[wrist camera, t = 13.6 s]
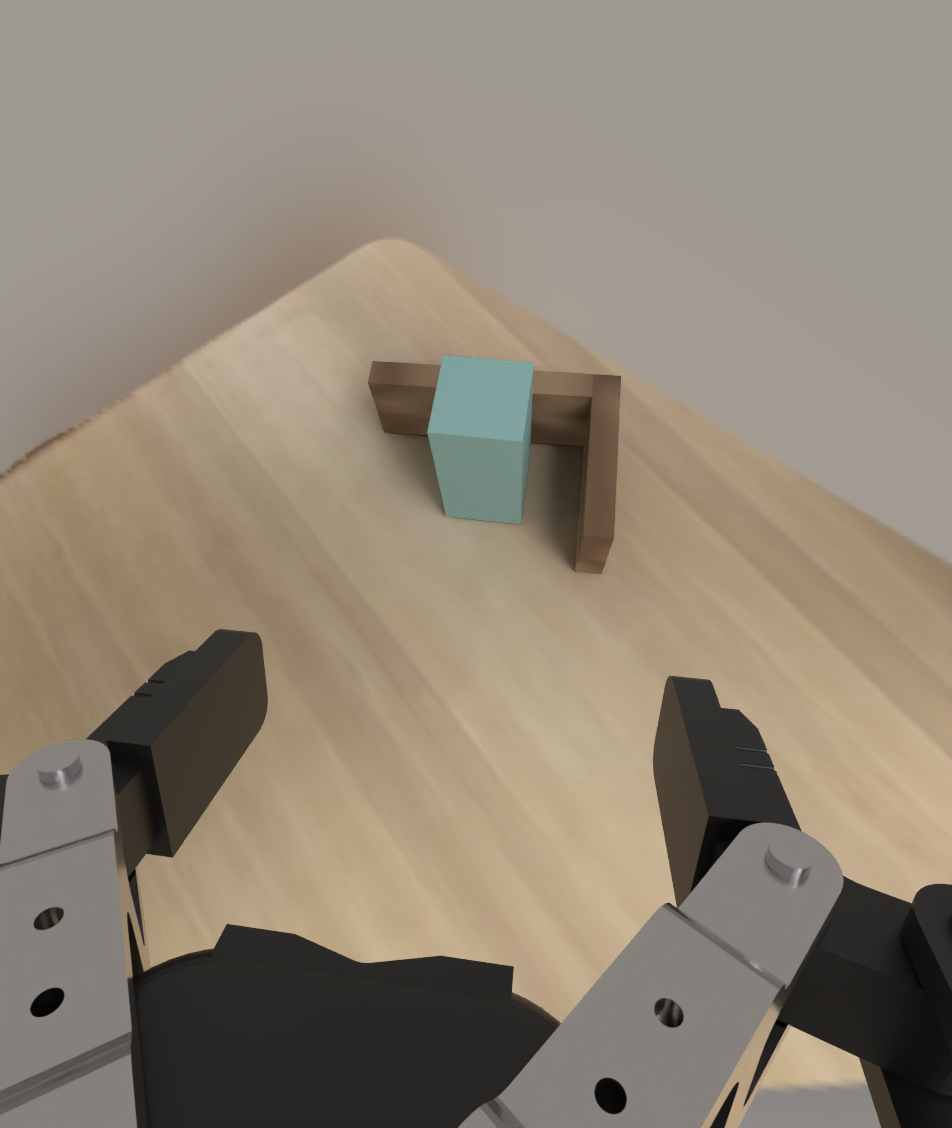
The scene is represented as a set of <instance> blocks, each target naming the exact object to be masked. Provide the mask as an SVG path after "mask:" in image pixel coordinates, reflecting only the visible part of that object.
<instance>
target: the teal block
mask: <svg viewBox="0 0 952 1128" xmlns="http://www.w3.org/2000/svg"><path fill="white" fill-rule="evenodd" d="M533 371H534V363H531V362H519V361H507V360H495V359H484V358H472V357H460V356H448V355H443V358H442V363H441V368H440V373H439V378H438V383H437V388H436V392H435V397H434V402H433V407H432V412H431V417H430V422H429V427H428V432H427V433H428V438H429V442H430V447H431V451H432V456H433V460H434V464H435V469H436V473H437V478H438V482H439V487H440V491H441V496H442V500H443V505H444V509H445V514H446V516H449V517H458V518H467V519H476V520H485V521H494V522H503V523H512V524H521V520H522V513H523V506H524V498H525V491H526V484H527V476H528V469H529V461H530V444H531V419H532V395H533Z"/></svg>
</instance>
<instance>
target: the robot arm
mask: <svg viewBox="0 0 952 1128" xmlns="http://www.w3.org/2000/svg"><path fill="white" fill-rule="evenodd" d="M267 704H268V696H267V687H266V677H265V668H264V659H263V649H262V642H261V638H260V636H259V635H258V634H257V633H254V632H244V631H234V630H224V629H219V630H217V631H215V632H214V633H213V634H212V635H211V636H210V637H209V638H208V639H207V640H206V641H205V642H204V643H203V644H202V645H201V646H200V647H199V648H198V649H197V650H196V651H188V652H186V653H184V654H182V655H180V656H178V657H176V658H175V659H173V660H171V661H169V662H167V663H165V664H164V665H163V666H162V667H161V668H160V669H159V670H158V671H157V672H156V673H155V674H154V675H152V676H151V677H150V678H149V679H148V683H144V684H143V685H142V686H141V687H140V688H139V689H138V690H137V691H136V692H135V694H134V696H131V697H129V698H128V699H127V700H126V701H125V702H124V703H123V704H122V705H121V706H120V707H119V708H118V709H117V710H116V711H115V712H114V713H113V714H112V715H111V716H110V717H109V718H107V719H106V720H105V721H104V722H103V723H102V724H101V725H100V726H99V727H98V728H97V729H96V730H95V731H94V732H93V733H92V734H91V735H90V736H89V737H88V738H87V739H76V740H68V741H63V742H59V743H56V744H52V745H50V746H47V747H44V748H42V749H40V750H38V751H36V752H34V753H32V754H31V755H29V756H27V757H26V758H25V759H23V760H22V761H21V762H19V763H18V764H17V765H16V766H15V767H14V769H13V770H12V771H11V772H10V774H8V775H0V1128H738V1127H739V1125H740V1123H741V1121H742V1119H743V1117H744V1115H745V1113H746V1111H747V1109H748V1107H749V1105H750V1103H751V1102H752V1099H753V1098H754V1096H755V1094H756V1092H757V1090H758V1088H759V1086H760V1084H761V1082H762V1080H763V1079H764V1077H765V1075H766V1073H767V1071H768V1069H769V1067H770V1065H771V1063H772V1061H773V1059H774V1057H775V1056H776V1054H777V1052H778V1050H779V1048H780V1046H781V1044H782V1042H783V1040H784V1038H785V1036H786V1034H787V1033H788V1031H789V1029H790V1027H791V1026H793V1027H795V1028H797V1029H799V1030H801V1031H803V1032H806V1033H808V1034H810V1035H812V1036H814V1037H816V1038H819V1039H821V1040H823V1041H825V1042H827V1043H829V1044H831V1045H834V1046H836V1047H838V1048H840V1049H842V1050H844V1051H847V1052H849V1053H851V1054H853V1055H855V1056H857V1057H859V1059H860V1062H861V1065H862V1068H863V1072H864V1075H865V1078H866V1081H867V1084H868V1087H869V1090H870V1093H871V1097H872V1100H873V1103H874V1106H875V1109H876V1112H877V1115H878V1118H879V1122H880V1125H881V1128H952V885H948V884H932V885H928V886H925V887H923V888H921V889H920V890H919V891H918V892H917V893H916V895H915V897H914V900H913V902H912V904H911V903H909V902H906V901H903V900H901V899H898V898H895V897H892V896H890V895H887V894H884V893H882V892H879V891H876V890H873V889H871V888H868V887H866V886H863V885H861V884H858V883H856V882H854V881H852V880H850V879H848V878H846V877H845V876H843V874H842V871H841V868H840V866H839V864H838V863H837V861H836V859H835V858H834V857H833V855H832V854H831V853H830V852H829V851H828V850H827V849H826V848H825V847H824V846H823V845H822V844H820V843H819V842H818V841H816V840H815V839H814V838H812V837H810V836H809V835H807V834H805V833H803V832H802V831H801V829H800V826H799V824H798V822H797V819H796V817H795V815H794V812H793V810H792V808H791V805H790V803H789V801H788V798H787V796H786V794H785V791H784V789H783V786H782V784H781V782H780V779H779V777H778V775H777V772H776V771H774V765H773V763H772V761H771V758H770V756H769V754H768V753H767V749H766V746H765V744H764V742H763V739H762V737H761V735H760V732H759V730H758V728H757V727H756V726H755V725H754V724H753V723H752V722H751V721H750V720H749V719H747V718H746V717H745V716H744V715H743V714H742V713H741V712H740V711H739V710H735V709H726V708H721V707H720V704H719V701H718V698H717V696H716V693H715V690H714V687H713V684H712V682H711V681H710V680H706V679H696V678H686V677H676V676H669V677H668V678H667V681H666V684H665V689H664V695H663V700H662V705H661V711H660V716H659V722H658V727H657V732H656V738H655V744H654V754H653V771H654V779H655V785H656V790H657V796H658V802H659V807H660V813H661V819H662V825H663V830H664V836H665V842H666V847H667V853H668V859H669V864H670V870H671V876H672V882H673V887H674V893H675V899H676V904H677V908H676V907H674V906H673V905H672V904H670V903H666V904H664V905H662V906H661V907H660V908H659V909H658V910H657V911H656V912H655V913H654V914H653V915H652V917H651V918H650V919H649V920H648V921H647V922H646V924H645V925H644V926H643V927H642V928H641V930H640V931H639V932H638V933H637V934H636V936H635V937H634V938H633V939H632V940H631V941H630V943H629V944H628V945H627V946H626V947H625V949H624V950H623V951H622V952H621V953H620V955H619V956H618V957H617V958H616V959H615V960H614V962H613V963H612V964H611V965H610V966H609V968H608V969H607V970H606V971H605V972H604V973H603V975H602V976H601V977H600V978H599V979H598V981H597V982H596V983H595V984H594V985H593V987H592V988H591V989H590V990H589V991H588V992H587V994H586V995H585V996H584V997H583V998H582V1000H581V1001H580V1002H579V1003H578V1004H577V1005H576V1007H575V1008H574V1009H573V1010H572V1011H571V1013H570V1014H569V1015H568V1016H567V1017H566V1019H565V1020H564V1021H563V1022H562V1023H560V1022H559V1021H558V1020H557V1019H555V1018H554V1017H553V1016H551V1015H550V1014H549V1013H548V1012H546V1011H545V1010H544V1009H542V1008H541V1007H539V1006H538V1005H536V1004H534V1003H533V1002H531V1001H529V1000H528V999H526V998H524V997H521V996H519V995H517V994H515V993H513V992H512V981H513V968H514V967H513V966H506V965H499V964H493V963H486V962H479V961H472V960H466V959H459V958H452V957H445V956H434V957H424V958H414V959H405V960H395V961H385V962H375V963H360V962H357V961H354V960H352V959H349V958H347V957H345V956H343V955H340V954H338V953H336V952H334V951H331V950H329V949H327V948H325V947H323V946H320V945H318V944H316V943H314V942H311V941H309V940H307V939H305V938H303V937H300V936H298V935H296V934H291V933H284V932H277V931H271V930H264V929H257V928H250V927H244V926H237V925H230V924H227V925H226V927H225V929H224V931H223V932H222V934H221V936H220V938H219V940H218V942H217V944H216V946H215V948H214V949H207V950H202V951H198V952H193V953H189V954H186V955H183V956H180V957H176V958H173V959H170V960H168V961H166V962H163V963H161V964H159V965H156V966H154V967H152V968H151V967H150V960H149V952H148V944H147V937H146V929H145V921H144V913H143V905H142V898H141V890H140V882H139V876H138V872H137V868H136V867H137V865H138V864H139V863H140V861H141V860H142V858H143V857H144V856H145V854H152V855H159V856H166V857H173V856H174V855H175V854H176V852H177V851H178V849H179V848H180V846H181V845H182V843H183V842H184V840H185V839H186V837H187V836H188V834H189V833H190V832H191V830H192V829H193V827H194V826H195V824H196V823H197V821H198V820H199V818H200V817H201V815H202V814H203V812H204V811H205V810H206V808H207V807H208V805H209V804H210V802H211V801H212V799H213V798H214V796H215V795H216V793H217V792H218V790H219V789H220V788H221V786H222V785H223V783H224V782H225V780H226V779H227V777H228V776H229V774H230V773H231V771H232V770H233V768H234V767H235V766H236V764H237V763H238V761H239V760H240V758H241V757H242V755H243V754H244V752H245V751H246V749H247V748H248V746H249V745H250V744H251V742H252V741H253V739H254V738H255V736H256V735H257V733H258V732H259V730H260V729H261V727H262V725H263V722H264V719H265V716H266V712H267Z"/></svg>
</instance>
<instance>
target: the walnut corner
mask: <svg viewBox="0 0 952 1128" xmlns="http://www.w3.org/2000/svg"><path fill="white" fill-rule="evenodd" d="M440 368H441V365H428V364H411V363H394V362H377V361H373V362H372V367H371V372H370V376H369V381H368V384H369V387H370V390H371V393H372V396H373V399H374V402H375V405H376V408H377V411H378V414H379V417H380V420H381V423H382V426H383V429H384V432H388V433H402V434H416V435H428V433H427V432H428V427H429V422H430V417H431V412H432V407H433V402H434V397H435V392H436V388H437V383H438V378H439V373H440ZM620 385H621V376H612V375H595V374H578V373H561V372H545V371H533V395H532V419H531V443H545V444H559V445H573V446H583V457H582V472H581V487H580V502H579V517H578V532H577V548H576V563H575V572H587V573H598V574H602V571H603V568H604V565H605V562H606V559H607V556H608V553H609V551H610V548H611V545H612V542H613V539H614V522H615V499H616V477H617V454H618V431H619V408H620Z"/></svg>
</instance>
